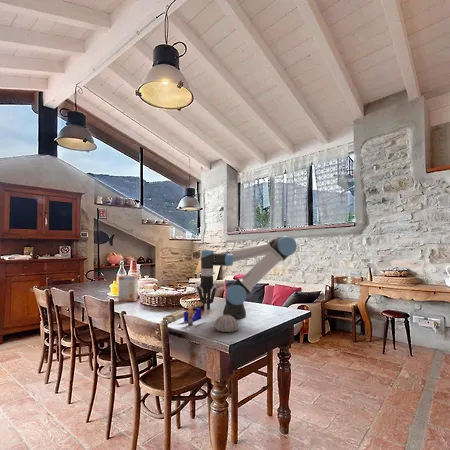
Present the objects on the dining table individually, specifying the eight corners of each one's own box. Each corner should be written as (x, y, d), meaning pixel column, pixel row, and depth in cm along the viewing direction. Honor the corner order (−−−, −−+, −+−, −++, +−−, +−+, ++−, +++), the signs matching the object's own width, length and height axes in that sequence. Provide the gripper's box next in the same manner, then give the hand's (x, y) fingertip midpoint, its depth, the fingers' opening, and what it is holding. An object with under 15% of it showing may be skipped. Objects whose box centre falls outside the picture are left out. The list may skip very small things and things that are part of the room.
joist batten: (186, 315, 192) (186, 311, 192) (170, 323, 173) (170, 318, 173) (179, 315, 194) (179, 310, 194) (162, 322, 175) (162, 317, 175)
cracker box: (137, 300, 244) (137, 275, 246) (134, 302, 238) (134, 276, 240) (121, 300, 246) (122, 275, 247) (118, 301, 240) (118, 275, 241)
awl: (193, 324, 170) (193, 307, 171) (191, 325, 168) (191, 308, 168) (189, 324, 171) (189, 306, 172) (187, 325, 169) (187, 307, 169)
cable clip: (189, 323, 174) (189, 312, 175) (184, 321, 177) (184, 311, 177) (203, 319, 184) (203, 309, 184) (197, 317, 187) (197, 308, 187)
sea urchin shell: (225, 325, 169) (225, 311, 170) (244, 329, 160) (243, 314, 161) (209, 330, 159) (209, 315, 160) (228, 335, 150) (228, 319, 151)
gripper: (194, 275, 177) (193, 315, 176) (214, 276, 173) (214, 317, 171) (200, 274, 184) (199, 312, 183) (219, 275, 180) (218, 314, 178)
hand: (206, 314), depth 177 cm, fingers closed
